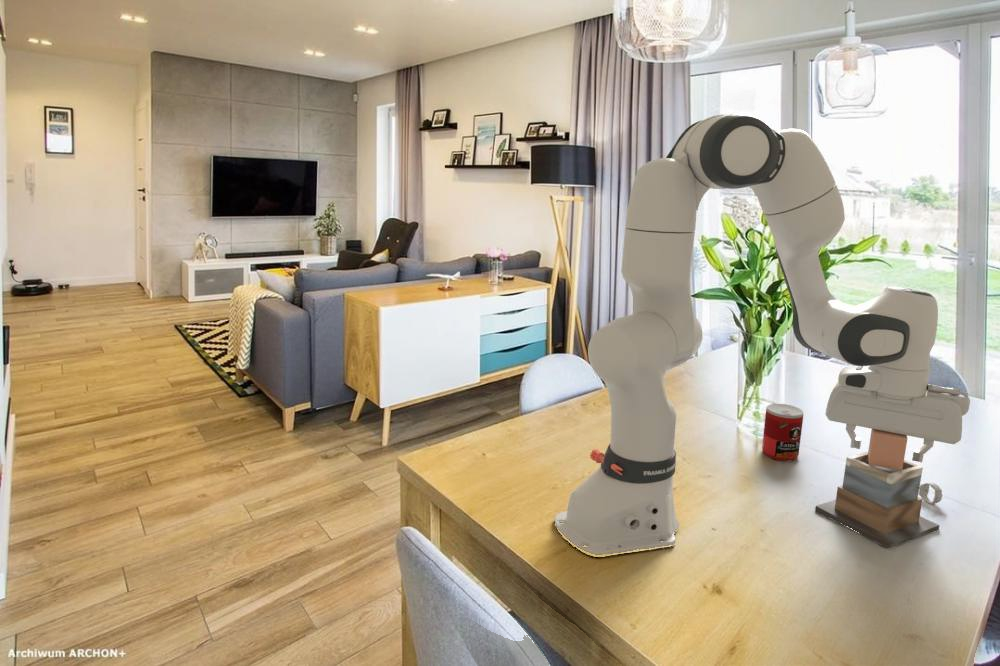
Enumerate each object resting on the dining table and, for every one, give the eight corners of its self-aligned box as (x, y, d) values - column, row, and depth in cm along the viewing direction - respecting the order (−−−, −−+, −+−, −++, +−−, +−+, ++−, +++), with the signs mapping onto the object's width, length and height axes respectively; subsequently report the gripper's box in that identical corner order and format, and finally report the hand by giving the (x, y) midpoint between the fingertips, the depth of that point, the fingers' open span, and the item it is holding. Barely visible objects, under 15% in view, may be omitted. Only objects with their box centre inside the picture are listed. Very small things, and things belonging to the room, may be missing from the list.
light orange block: (868, 464, 107) (873, 433, 106) (867, 454, 112) (872, 423, 110) (902, 470, 105) (907, 438, 104) (899, 459, 109) (904, 428, 108)
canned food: (777, 463, 134) (783, 417, 132) (754, 449, 142) (758, 405, 139) (806, 459, 136) (812, 413, 134) (781, 445, 144) (786, 402, 141)
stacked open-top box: (888, 549, 102) (898, 486, 99) (815, 510, 114) (822, 454, 112) (938, 530, 108) (949, 470, 105) (863, 495, 120) (871, 441, 117)
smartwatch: (942, 506, 116) (945, 487, 115) (933, 507, 115) (936, 488, 114) (925, 497, 119) (928, 479, 118) (916, 499, 119) (919, 480, 118)
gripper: (971, 386, 101) (957, 462, 104) (834, 366, 113) (825, 435, 116) (972, 396, 96) (957, 475, 99) (829, 374, 108) (820, 446, 111)
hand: (885, 453), depth 108 cm, fingers open, 8 cm apart
